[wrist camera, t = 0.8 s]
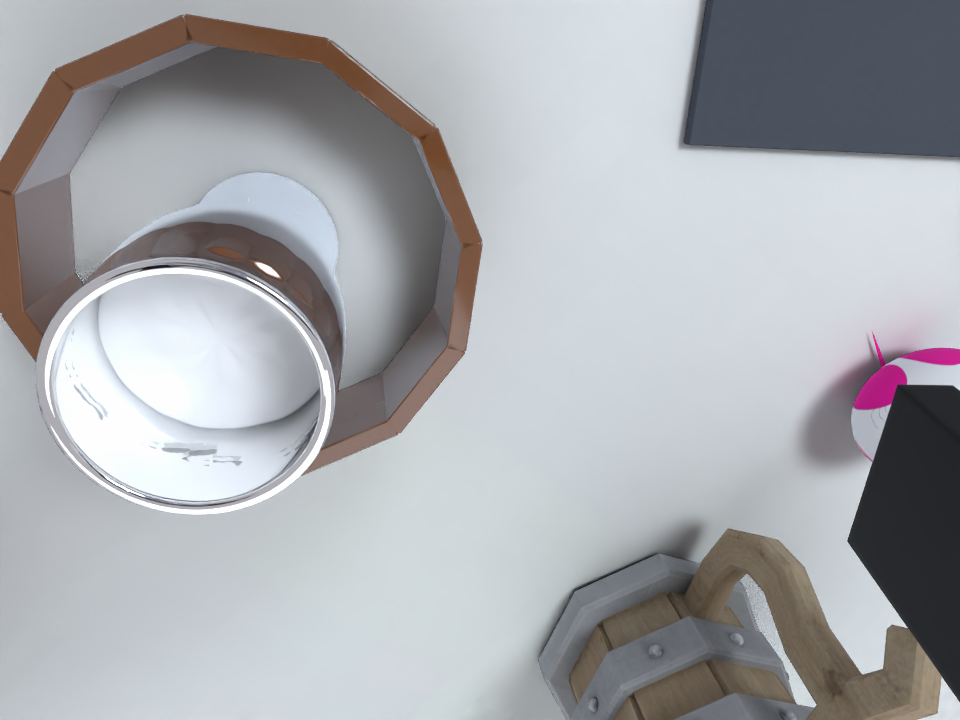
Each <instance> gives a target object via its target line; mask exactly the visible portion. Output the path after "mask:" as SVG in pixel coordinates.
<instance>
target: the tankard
mask: <svg viewBox="0 0 960 720" xmlns="http://www.w3.org/2000/svg"><path fill="white" fill-rule="evenodd" d="M746 573H747V574H749V575H750V577H751V578H752V579H753V580H754V581H755V582H756V584H757V585H758V586H759V587H760V588H761V590H762V591H763V592H764V594H765V597H766V600H767V603H768V605H769V608H770V611H771V614H772V617H773V619H774V622H775V625H776V628H777V631H778V634H779V636H780V639H781V642H782V645H783V648H784V651H785V653H786V655H787V657H788V658H789V660H790V662H791V663H792V665H793V666H794V668H795V670H796V671H797V673H798V675H799V676H800V678H801V680H802V681H803V683H804V685H805V686H806V688H807V690H808V691H809V693H810V694H811V696H812V698H813V699H814V701H815V703H816V704H817V705H816V707H815V708H813V707H808V706H802V705H797V704H796V702H795V700H794V696H793V693H792V690H791V687H790V684H789V681H788V680H789V676H788V673H787V672H786V671H785V668H784V665H783V662H782V660H781V659H780V658H779V656H778V655H777V653H776V652H775V651H774V649H773V648H772V646H771V645H770V644H769V642H768V641H767V639H766V638H765V637H764V635H763V634H762V632H759V629H758V626H757V623H756V620H755V617H754V614H753V611H752V608H751V605H750V602H749V599H748V596H747V593H746V590H745V587H744V586H743V584H742V583H741V581H740V579H741V578H742V577H743V576H744V575H745V574H746ZM538 661H539V665H540V668H541V671H542V674H543V678H544V679H545V681H546V683H547V685H548V687H549V689H550V690H551V692H552V694H553V696H554V698H555V700H556V701H557V703H558V705H559V707H560V709H561V711H562V712H563V714H564V716H565V718H566V720H918V719H921V718H924V717H928V716H931V715H934V714H937V713H938V704H939V695H940V686H941V675H940V673H939V672H938V670H937V669H936V667H935V666H934V665H933V663H932V662H931V660H930V659H929V657H928V656H927V654H926V653H925V652H924V650H923V649H922V647H921V646H920V644H919V643H918V642H917V640H916V639H915V637H914V636H913V634H912V633H911V632H910V630H909V629H908V628H904V627H900V626H895V625H891V626H890V627H889V628H888V629H887V634H886V644H885V655H884V666H883V669H881V670H878V671H874V672H871V673H867V674H864V675H862V674H861V673H860V671H859V670H858V668H857V667H856V665H855V664H854V662H853V661H852V660H851V658H850V657H849V655H848V654H847V652H846V651H845V649H844V648H843V647H842V645H841V644H840V642H839V641H838V639H837V638H836V636H835V635H834V634H833V632H832V631H831V629H830V628H829V625H828V623H827V621H826V618H825V616H824V613H823V611H822V608H821V606H820V604H819V601H818V599H817V596H816V594H815V592H814V589H813V587H812V584H811V582H810V579H809V577H808V575H807V572H806V570H805V567H804V566H803V565H802V564H801V563H800V562H799V561H798V560H797V559H796V558H795V557H794V556H793V555H792V554H791V553H790V552H789V551H788V550H787V549H786V548H785V547H784V545H783V544H782V543H781V542H780V541H779V540H776V539H772V538H768V537H764V536H760V535H756V534H751V533H746V532H742V531H737V530H733V529H727V530H726V532H725V533H724V534H723V535H722V537H721V538H720V539H719V540H718V542H717V543H716V544H715V545H714V547H713V548H712V549H711V550H710V552H709V553H708V554H707V555H706V557H705V558H704V559H703V560H702V562H701V564H699V563H695V562H691V561H687V560H683V559H679V558H675V557H671V556H667V555H663V554H656V555H654V556H652V557H650V558H647V559H645V560H643V561H641V562H639V563H636V564H634V565H632V566H630V567H628V568H625V569H623V570H621V571H619V572H617V573H614V574H612V575H610V576H608V577H605V578H603V579H601V580H599V581H597V582H594V583H592V584H590V585H588V586H586V587H583V588H581V589H579V590H577V591H575V592H574V594H573V596H572V597H571V599H570V601H569V603H568V605H567V607H566V609H565V611H564V612H563V614H562V616H561V618H560V620H559V622H558V624H557V626H556V627H555V629H554V631H553V633H552V635H551V637H550V639H549V641H548V643H547V644H546V646H545V648H544V650H543V652H542V654H541V656H540V658H539V659H538Z"/></svg>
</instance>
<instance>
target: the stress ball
mask: <svg viewBox="0 0 960 720" xmlns="http://www.w3.org/2000/svg"><path fill="white" fill-rule="evenodd" d="M872 334H873V332H872ZM873 337H874V335H873ZM874 341H875V345H876V349H877V353H878V357H879V361H880V365H881V368H880V369H879V370H878V371H877V372H876V373H874V374H873V375H872V376H871V377H870V378H869V379H868V381H867V382H866V383H865V384H864V386H863V387H862V389H861V390H860V392H859V394H858V395H857V397H856V400H855V402H854V405H853V409H852V415H851V426H852V432H853V436H854V439H855V441H856V443H857V445H858V447H859V448H860V450H861V451H862V452H863V454H864V455H865V456H866V457H867V458H868V459H869V460H870V461H872V462H873V460H874V456H875V453H876V450H877V447H878V444H879V441H880V438H881V435H882V432H883V428H884V425H885V422H886V419H887V416H888V413H889V410H890V407H891V404H892V400H893V397H894V394H895V391H896V388H897V385H898V384H902V385H953V386H954V387H956V388H957V389H958V390H960V349H954V348H931V349H924V350H919V351H915V352H912V353H909V354H906V355H904V356H901V357H899V358H897V359H895V360H893V361H891V362H889V363H888V364H885V362H884V359H883V357H882V354H881V352H880V349H879V347H878V344H877V342H876V340H875V337H874Z"/></svg>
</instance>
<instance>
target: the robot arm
mask: <svg viewBox="0 0 960 720" xmlns="http://www.w3.org/2000/svg"><path fill="white" fill-rule="evenodd" d="M847 541H848V543H849V544H850V546H851V547H852V549H853V550H854V551H855V553H856V554H857V556H858V557H859V559H860V560H861V561H862V563H863V564H864V566H865V567H866V569H867V570H868V571H869V573H870V574H871V576H872V577H873V579H874V580H875V581H876V583H877V584H878V586H879V587H880V589H881V590H882V592H883V593H884V594H885V596H886V597H887V599H888V600H889V602H890V603H891V604H892V606H893V607H894V609H895V610H896V612H897V613H898V614H899V616H900V617H901V619H902V620H903V622H904V623H905V624H906V626H907V627H908V629H909V630H910V632H911V633H912V634H913V636H914V637H915V639H916V640H917V642H918V643H919V644H920V646H921V647H922V649H923V650H924V652H925V653H926V654H927V656H928V657H929V659H930V660H931V662H932V663H933V665H934V666H935V667H936V669H937V670H938V672H939V673H940V675H941V676H942V677H943V679H944V680H945V682H946V683H947V685H948V686H949V687H950V689H951V690H952V692H953V693H954V695H955V696H956V697H957V699H958V700H959V702H960V390H958V389H957V388H956V387H954V386H953V385H902V384H898V385H897V388H896V391H895V394H894V397H893V400H892V404H891V407H890V410H889V413H888V416H887V419H886V422H885V425H884V428H883V432H882V435H881V438H880V441H879V444H878V447H877V450H876V453H875V456H874V460H873V463H872V466H871V469H870V472H869V475H868V478H867V481H866V484H865V487H864V491H863V494H862V497H861V500H860V503H859V506H858V509H857V512H856V515H855V519H854V522H853V525H852V528H851V531H850V534H849V537H848V540H847Z"/></svg>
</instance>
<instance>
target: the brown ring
mask: <svg viewBox="0 0 960 720" xmlns="http://www.w3.org/2000/svg"><path fill="white" fill-rule="evenodd" d="M215 47H221V48H228V49H234V50H240V51H246V52H252V53H259V54H265V55H271V56H277V57H283V58H289V59H296V60H302V61H308V62H314V63H320V64H322V65H323V66H325V67H326V68H327V69H328V70H330V71H331V72H332V73H333V74H335V75H336V76H337V77H338V78H340V79H341V80H342V81H343V82H345V83H346V84H347V85H348V86H350V87H351V88H352V89H353V90H355V91H356V92H357V93H358V94H360V95H361V96H362V97H363V98H365V99H366V100H367V101H368V102H370V103H371V104H372V105H374V106H375V107H376V108H377V109H379V110H380V111H381V112H382V113H384V114H385V115H386V116H387V117H389V118H390V119H391V120H392V121H394V122H395V123H396V124H397V125H399V126H400V127H401V128H402V129H404V130H405V131H406V132H407V133H409V134H410V135H411V136H412V138H413V141H414V143H415V145H416V148H417V150H418V153H419V155H420V158H421V160H422V162H423V165H424V167H425V170H426V172H427V175H428V177H429V180H430V182H431V184H432V187H433V189H434V192H435V194H436V197H437V199H438V201H439V204H440V206H441V209H442V211H443V214H444V216H445V218H446V221H445V229H444V236H443V244H442V251H441V259H440V266H439V274H438V281H437V288H436V296H435V303H434V307H433V308H432V310H431V311H430V312H429V314H428V315H427V316H426V317H425V319H424V320H423V321H422V322H421V324H420V325H419V326H418V328H417V329H416V330H415V331H414V333H413V334H412V335H411V337H410V338H409V339H408V340H407V342H406V343H405V344H404V346H403V347H402V348H401V349H400V351H399V352H398V353H397V354H396V356H395V357H394V358H393V360H392V361H391V362H390V363H389V365H388V366H387V367H386V369H385V370H384V371H383V372H382V373H380V374H378V375H376V376H373V377H371V378H369V379H366V380H364V381H362V382H359V383H357V384H355V385H352V386H350V387H347V388H345V389H343V390H340V391H338V393H337V397H336V400H335V408H334V415H333V420H332V424H331V427H330V430H329V433H328V436H327V438H326V440H325V443H324V445H323V446H322V448H321V450H320V452H319V453H318V455H317V456H316V458H315V459H314V461H313V462H312V463H311V465H310V466H309V467H308V468H307V469H306V470H305V471H304V473H303V474H302V475H305V474H307V473H309V472H312V471H314V470H316V469H319V468H321V467H324V466H326V465H328V464H331V463H333V462H335V461H338V460H340V459H342V458H345V457H347V456H349V455H352V454H354V453H356V452H359V451H361V450H363V449H366V448H368V447H370V446H373V445H375V444H377V443H380V442H382V441H385V440H387V439H389V438H392V437H394V436H396V435H398V433H401V432H402V431H403V429H404V428H405V427H406V426H407V424H408V423H409V422H410V421H411V419H412V418H413V417H414V416H415V414H416V413H417V412H418V411H419V409H420V408H421V407H422V406H423V405H424V403H425V402H426V401H427V400H428V398H429V397H430V396H431V395H432V393H433V392H434V391H435V390H436V388H437V387H438V386H439V385H440V383H441V382H442V381H443V380H444V379H445V377H446V376H447V375H448V374H449V372H450V371H451V370H452V369H453V367H454V366H455V365H456V364H457V362H458V361H459V360H460V359H461V357H462V356H463V355H464V354H465V351H466V348H467V342H468V335H469V329H470V322H471V316H472V309H473V303H474V297H475V290H476V284H477V277H478V271H479V264H480V258H481V251H482V245H483V244H482V239H481V236H480V234H479V231H478V229H477V226H476V224H475V221H474V218H473V216H472V213H471V211H470V208H469V206H468V203H467V201H466V198H465V196H464V193H463V190H462V188H461V185H460V183H459V180H458V178H457V175H456V173H455V170H454V167H453V165H452V162H451V160H450V157H449V155H448V152H447V150H446V147H445V145H444V142H443V139H442V137H441V134H440V132H439V129H438V128H437V127H436V126H435V124H434V123H432V122H431V121H430V120H429V119H427V118H426V117H425V116H424V115H423V114H421V113H420V112H419V111H418V110H416V109H415V108H414V107H413V106H412V105H410V104H409V103H408V102H407V101H405V100H404V99H403V98H402V97H401V96H399V95H398V94H397V93H396V92H394V91H393V90H392V89H391V88H390V87H388V86H387V85H386V84H385V83H383V82H382V81H381V80H380V79H379V78H377V77H376V76H375V75H374V74H372V73H371V72H370V71H369V70H368V69H366V68H365V67H364V66H363V65H361V64H360V63H359V62H358V61H357V60H355V59H354V58H353V57H352V56H350V55H349V54H348V53H347V52H346V51H344V50H343V49H342V48H341V47H339V46H338V45H337V44H336V43H335V42H333V41H332V40H329V39H328V38H325V37H319V36H313V35H307V34H301V33H295V32H289V31H283V30H277V29H272V28H266V27H260V26H254V25H248V24H242V23H236V22H230V21H224V20H219V19H213V18H207V17H201V16H195V15H189V14H185V15H180V16H178V17H175V18H173V19H171V20H168V21H166V22H164V23H161V24H159V25H157V26H154V27H152V28H150V29H147V30H145V31H143V32H140V33H138V34H136V35H133V36H131V37H128V38H126V39H124V40H121V41H119V42H117V43H114V44H112V45H110V46H107V47H105V48H103V49H100V50H98V51H96V52H93V53H91V54H89V55H86V56H84V57H82V58H79V59H77V60H75V61H72V62H70V63H68V64H65V65H63V66H61V67H58V68H56V69H55V71H53V72H52V73H51V75H50V76H49V78H48V80H47V81H46V83H45V85H44V87H43V88H42V90H41V92H40V94H39V95H38V97H37V99H36V100H35V102H34V104H33V106H32V107H31V109H30V111H29V113H28V114H27V116H26V118H25V119H24V121H23V123H22V125H21V126H20V128H19V130H18V131H17V133H16V135H15V137H14V138H13V140H12V142H11V144H10V145H9V147H8V149H7V150H6V152H5V154H4V156H3V157H2V159H1V161H0V313H3V314H2V317H3V318H4V320H5V321H6V323H7V324H8V325H9V327H10V328H11V329H12V331H13V332H14V333H15V335H16V336H17V337H18V339H19V340H20V341H21V343H22V344H23V345H24V347H25V348H26V349H27V351H28V352H29V353H30V355H31V356H32V357H33V359H34V360H35V361H36V363H37V356H38V352H39V348H40V345H41V342H42V339H43V336H44V334H45V332H46V330H47V328H48V326H49V324H50V322H51V321H52V319H53V317H54V316H55V315H56V313H57V312H58V310H59V309H60V308H61V307H62V306H63V304H64V303H65V302H66V301H67V300H68V299H69V298H70V297H71V296H72V295H73V294H74V293H76V292H77V291H78V290H79V288H80V287H81V286H82V285H83V283H82V282H81V280H80V279H79V277H78V276H77V274H76V273H75V260H74V244H73V228H72V212H71V195H70V179H69V173H70V171H71V169H72V168H73V166H74V164H75V163H76V161H77V160H78V158H79V156H80V155H81V153H82V151H83V150H84V148H85V146H86V145H87V143H88V141H89V140H90V138H91V137H92V135H93V133H94V132H95V130H96V128H97V127H98V125H99V123H100V122H101V120H102V118H103V117H104V115H105V113H106V112H107V110H108V109H109V107H110V105H111V104H112V102H113V100H114V99H115V97H116V95H117V94H118V92H119V90H120V89H121V87H124V86H126V85H128V84H131V83H133V82H135V81H138V80H140V79H142V78H145V77H147V76H149V75H152V74H154V73H156V72H159V71H161V70H163V69H166V68H168V67H170V66H173V65H175V64H177V63H180V62H182V61H184V60H187V59H189V58H191V57H194V56H196V55H198V54H201V53H203V52H205V51H208V50H210V49H212V48H215ZM302 475H301V476H302Z"/></svg>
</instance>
